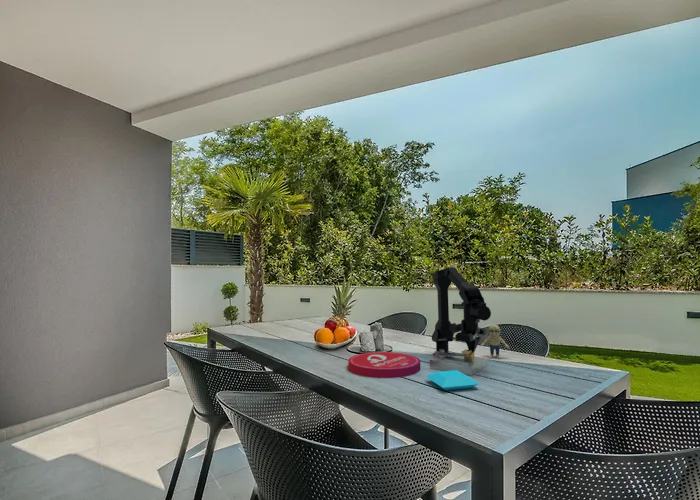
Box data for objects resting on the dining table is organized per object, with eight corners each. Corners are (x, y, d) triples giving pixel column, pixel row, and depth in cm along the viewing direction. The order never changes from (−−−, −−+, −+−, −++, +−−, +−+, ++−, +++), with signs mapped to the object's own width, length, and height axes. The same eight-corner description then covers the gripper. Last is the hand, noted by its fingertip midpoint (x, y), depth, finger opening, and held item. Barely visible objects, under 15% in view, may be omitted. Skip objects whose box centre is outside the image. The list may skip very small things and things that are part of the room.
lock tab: (466, 358, 169) (466, 348, 169) (474, 359, 167) (474, 349, 167) (460, 361, 164) (460, 351, 164) (468, 362, 162) (468, 352, 162)
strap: (440, 354, 172) (439, 351, 173) (469, 355, 164) (469, 352, 164) (436, 355, 170) (436, 352, 170) (466, 357, 162) (466, 354, 162)
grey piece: (446, 360, 181) (446, 345, 181) (487, 366, 169) (486, 350, 170) (429, 368, 168) (429, 352, 168) (471, 375, 157) (471, 358, 157)
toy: (479, 357, 185) (479, 324, 185) (480, 355, 190) (480, 323, 191) (509, 360, 180) (508, 326, 181) (509, 357, 186) (509, 324, 186)
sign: (434, 367, 171) (379, 356, 192) (434, 358, 171) (378, 348, 192) (390, 383, 149) (333, 369, 170) (390, 373, 149) (333, 360, 170)
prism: (442, 395, 137) (442, 381, 137) (425, 382, 151) (424, 370, 151) (480, 390, 140) (479, 376, 140) (460, 378, 154) (459, 366, 154)
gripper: (461, 313, 181) (462, 348, 181) (442, 318, 166) (443, 356, 166) (486, 315, 174) (487, 351, 174) (469, 320, 160) (470, 360, 159)
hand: (471, 354), depth 168 cm, fingers closed
